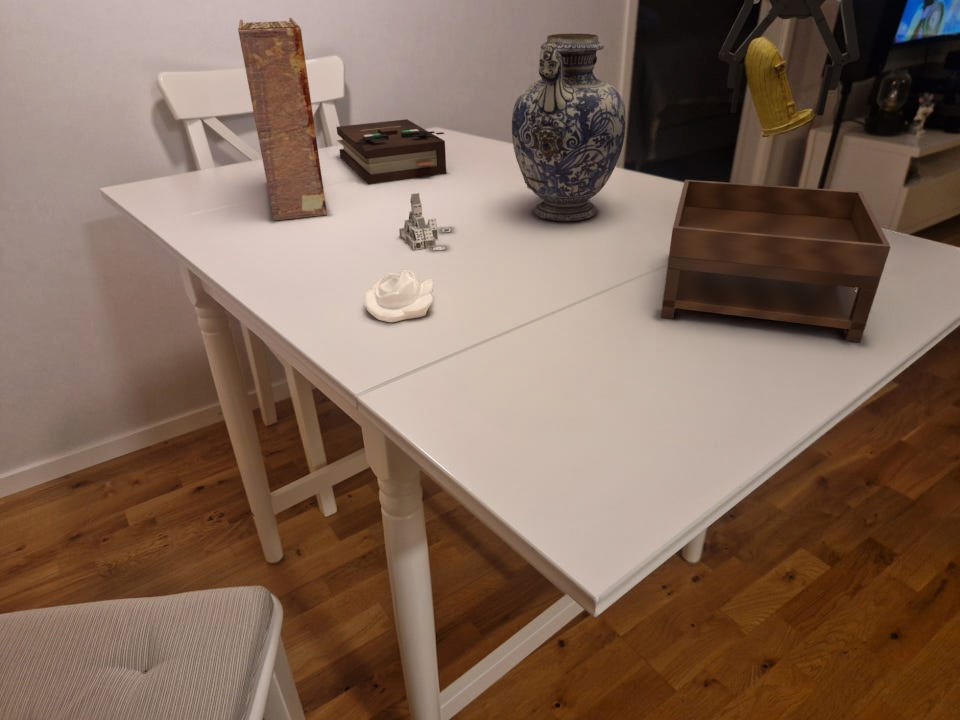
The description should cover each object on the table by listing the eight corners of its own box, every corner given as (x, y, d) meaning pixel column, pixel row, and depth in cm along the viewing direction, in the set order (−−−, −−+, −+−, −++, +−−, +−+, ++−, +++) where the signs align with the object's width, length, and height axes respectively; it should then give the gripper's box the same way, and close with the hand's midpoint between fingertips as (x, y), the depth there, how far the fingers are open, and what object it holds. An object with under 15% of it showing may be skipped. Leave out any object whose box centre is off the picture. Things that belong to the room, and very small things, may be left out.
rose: (454, 271, 83) (398, 297, 76) (455, 303, 85) (401, 331, 79) (399, 253, 88) (343, 276, 82) (401, 283, 91) (347, 308, 84)
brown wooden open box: (838, 274, 90) (862, 191, 84) (860, 342, 74) (890, 246, 68) (673, 257, 97) (684, 179, 91) (660, 317, 80) (672, 227, 74)
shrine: (735, 143, 98) (754, 31, 91) (728, 131, 105) (745, 27, 97) (817, 144, 96) (843, 30, 89) (804, 132, 103) (827, 25, 95)
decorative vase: (536, 190, 127) (539, 28, 113) (631, 200, 120) (648, 29, 106) (490, 224, 110) (488, 40, 96) (598, 239, 103) (612, 43, 89)
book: (270, 183, 135) (239, 19, 120) (315, 178, 137) (291, 17, 122) (274, 221, 114) (237, 29, 99) (327, 215, 116) (300, 26, 101)
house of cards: (469, 245, 103) (467, 197, 99) (416, 254, 100) (412, 205, 96) (449, 227, 110) (446, 181, 106) (399, 235, 107) (394, 189, 103)
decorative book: (408, 113, 157) (454, 138, 133) (410, 145, 161) (455, 175, 137) (328, 121, 150) (361, 149, 127) (332, 155, 154) (365, 188, 131)
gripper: (903, -63, 87) (859, 110, 98) (716, -56, 94) (695, 105, 105) (915, -65, 81) (867, 120, 92) (714, -57, 88) (692, 114, 99)
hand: (775, 112), depth 99 cm, fingers closed on shrine, 11 cm apart
